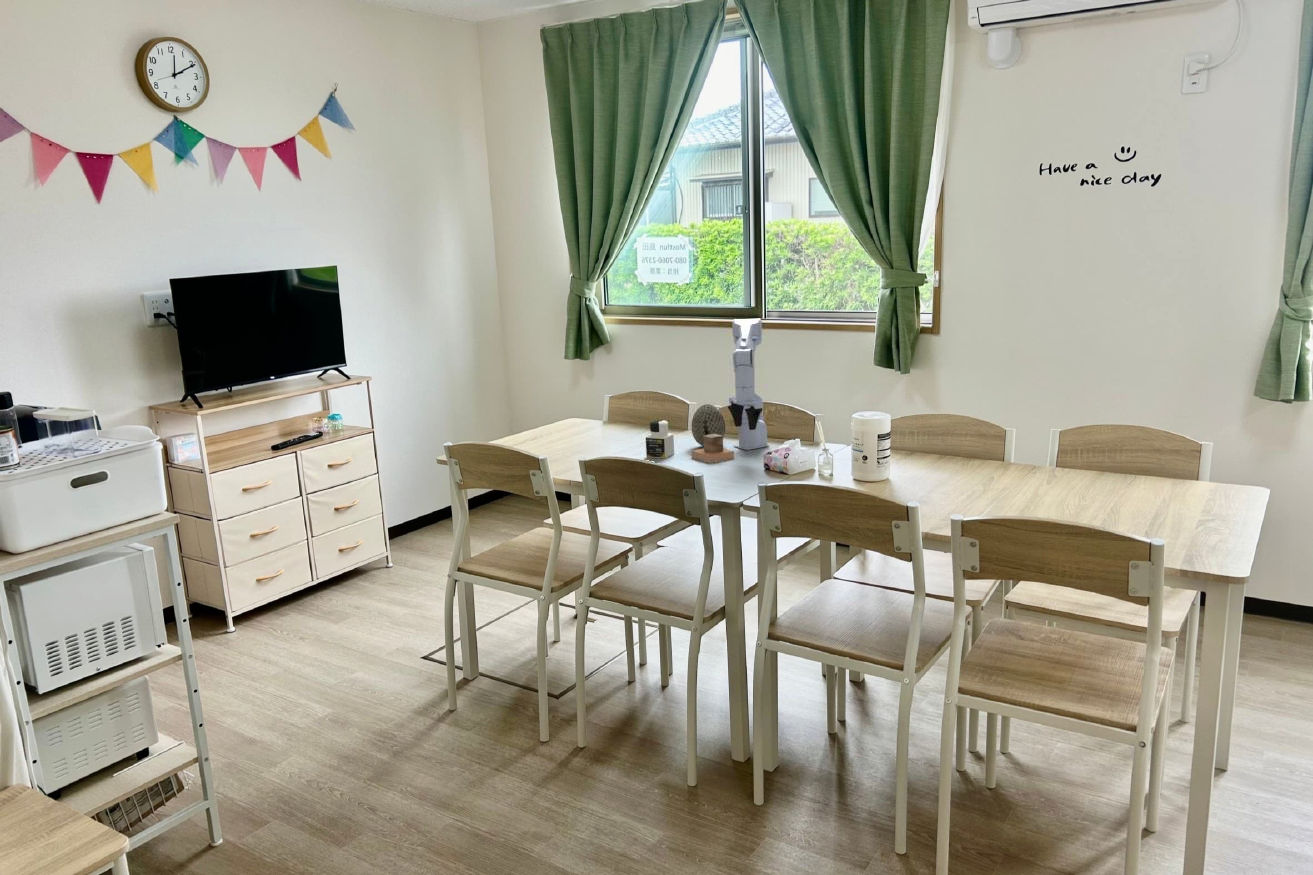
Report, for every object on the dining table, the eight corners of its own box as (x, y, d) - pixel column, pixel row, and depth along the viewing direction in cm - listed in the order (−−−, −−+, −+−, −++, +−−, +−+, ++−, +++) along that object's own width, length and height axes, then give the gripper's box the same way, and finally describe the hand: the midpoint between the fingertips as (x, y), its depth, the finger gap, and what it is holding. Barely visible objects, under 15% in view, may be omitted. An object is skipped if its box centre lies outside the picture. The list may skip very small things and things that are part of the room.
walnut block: (715, 448, 319) (714, 433, 318) (723, 450, 315) (722, 435, 314) (703, 450, 316) (703, 435, 315) (711, 452, 312) (711, 437, 312)
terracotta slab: (716, 454, 323) (716, 446, 322) (734, 459, 314) (733, 451, 314) (691, 459, 318) (691, 450, 317) (708, 464, 309) (708, 455, 309)
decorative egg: (724, 450, 326) (722, 407, 323) (690, 450, 328) (688, 407, 325) (727, 443, 338) (725, 401, 335) (694, 443, 340) (692, 401, 337)
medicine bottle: (646, 457, 321) (644, 422, 319) (656, 452, 328) (654, 418, 325) (665, 458, 318) (663, 423, 316) (674, 454, 324) (673, 419, 322)
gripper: (720, 385, 311) (722, 426, 314) (748, 390, 299) (749, 432, 302) (738, 383, 315) (739, 423, 318) (765, 387, 303) (766, 429, 305)
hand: (745, 427), depth 310 cm, fingers open, 7 cm apart
